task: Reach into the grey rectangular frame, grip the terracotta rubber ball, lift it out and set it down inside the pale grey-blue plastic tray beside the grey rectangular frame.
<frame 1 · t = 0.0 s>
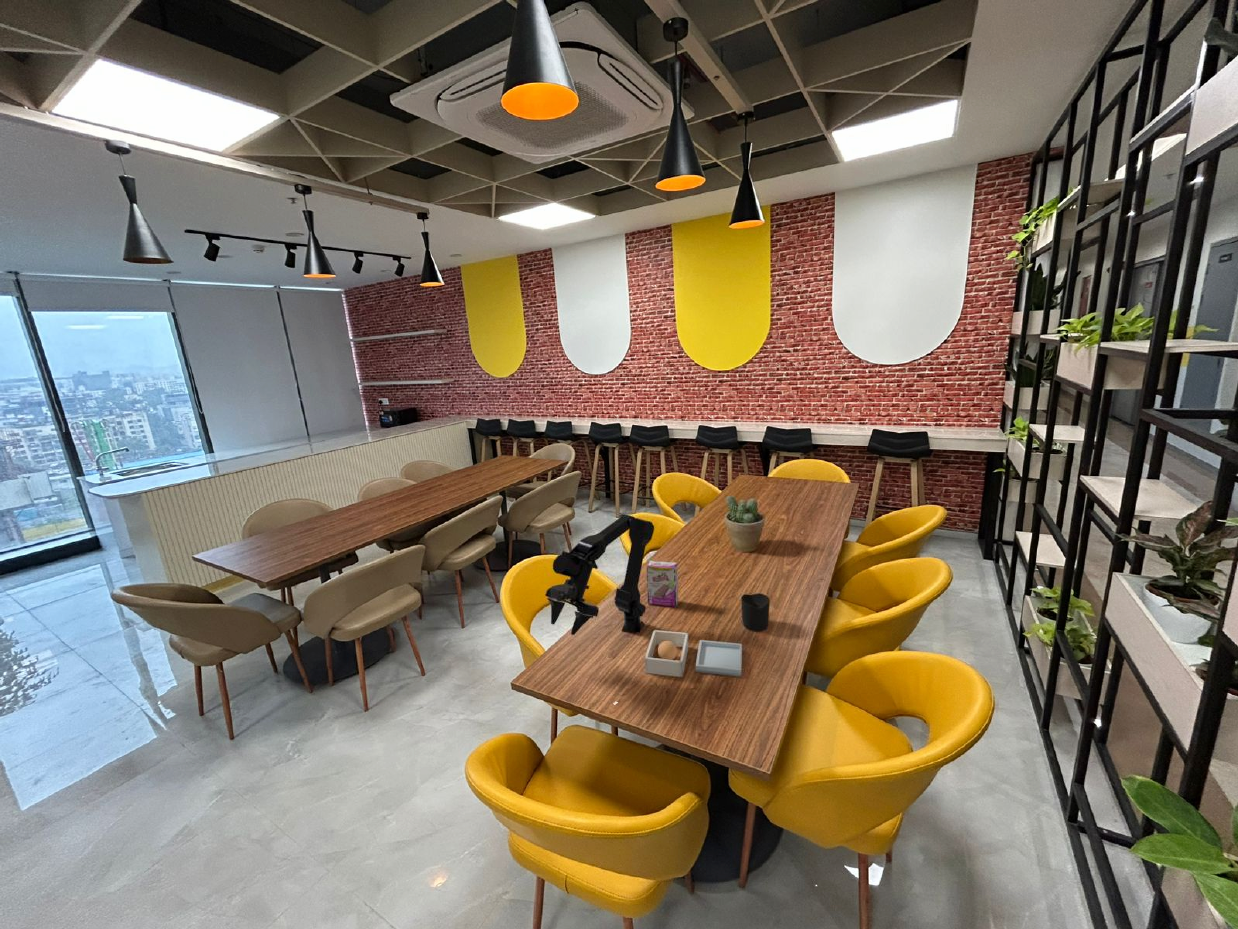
hand: (562, 629, 150), 15 cm above the table, tool tilted 35°, fingers open, 9 cm apart
potted plant: (744, 548, 236), on the table
candy bar box: (663, 603, 191), on the table
tray: (719, 660, 155), on the table
grey rectangular frame: (667, 659, 157), on the table
ball: (667, 651, 156), point 3 cm above the table
pen holder: (755, 625, 173), on the table
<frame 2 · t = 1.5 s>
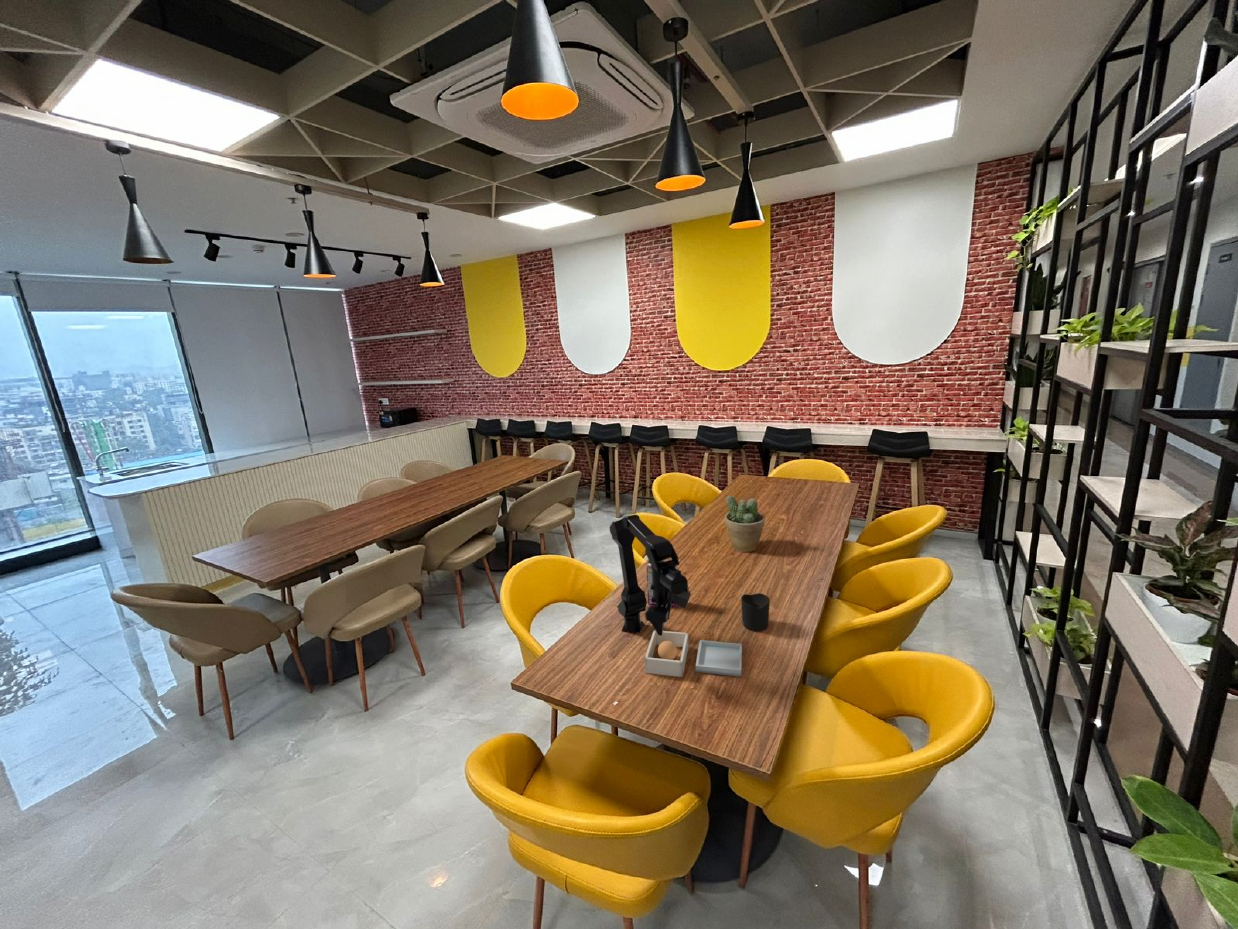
hand: (663, 627, 153), 12 cm above the table, tool pointing down, fingers open, 9 cm apart
nothing on the table moved.
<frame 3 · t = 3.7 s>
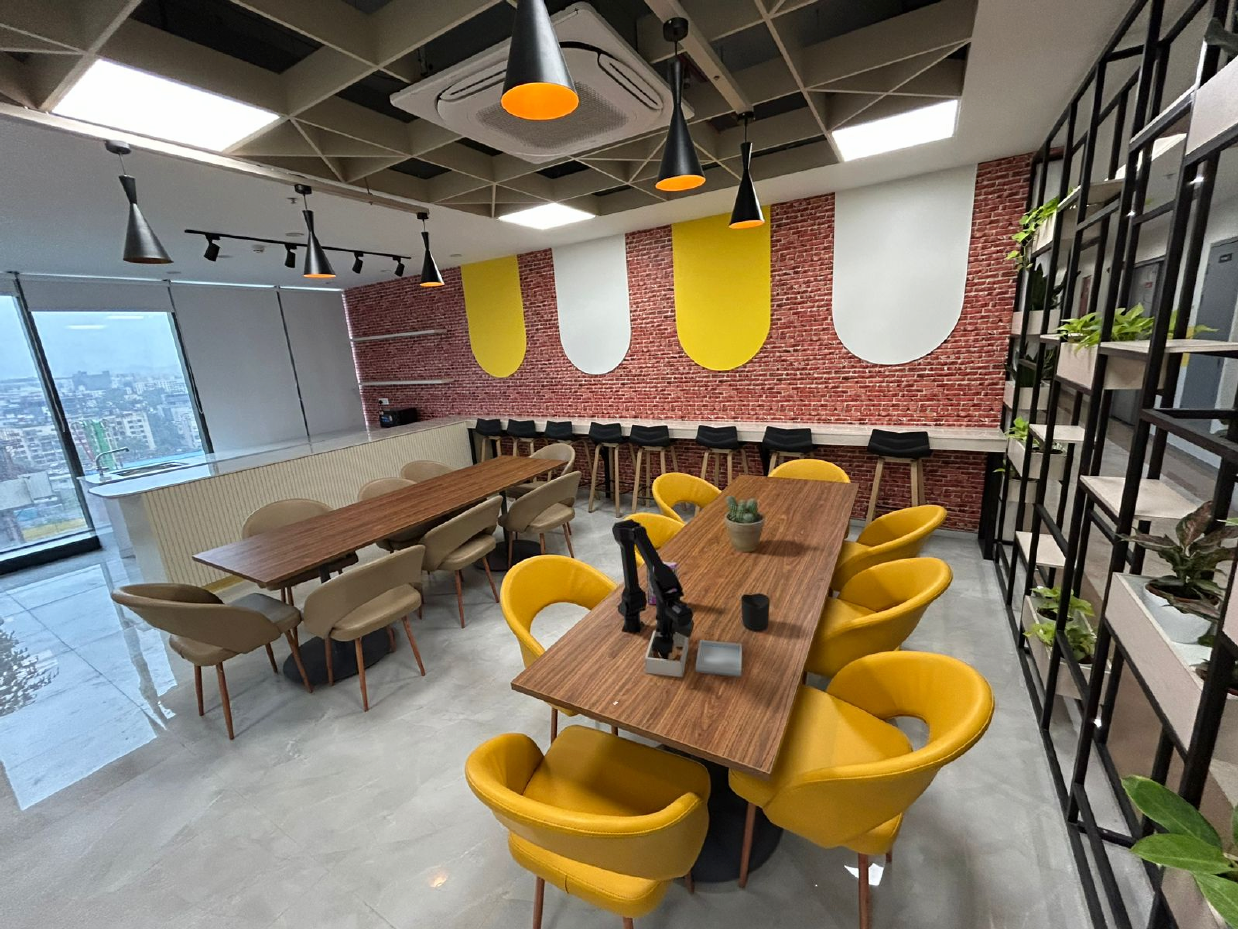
hand: (667, 655, 157), 2 cm above the table, tool pointing down, fingers closed on ball, 6 cm apart
ball: (667, 651, 156), point 3 cm above the table, touching gripper
everything else where it was.
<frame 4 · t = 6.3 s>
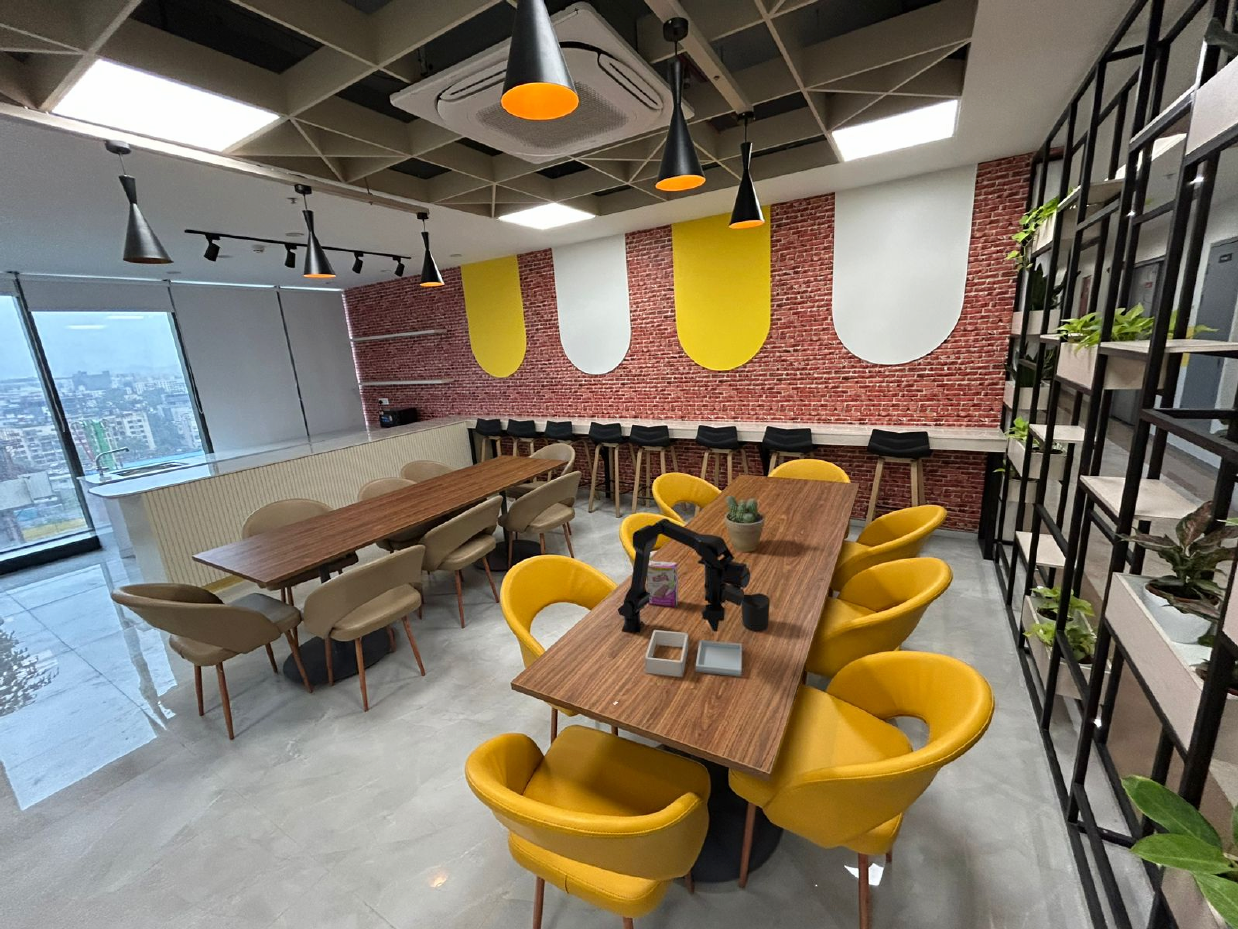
hand: (716, 625, 152), 12 cm above the table, tool pointing down, fingers closed on ball, 6 cm apart
ball: (715, 621, 151), point 14 cm above the table, touching gripper
everything else where it was.
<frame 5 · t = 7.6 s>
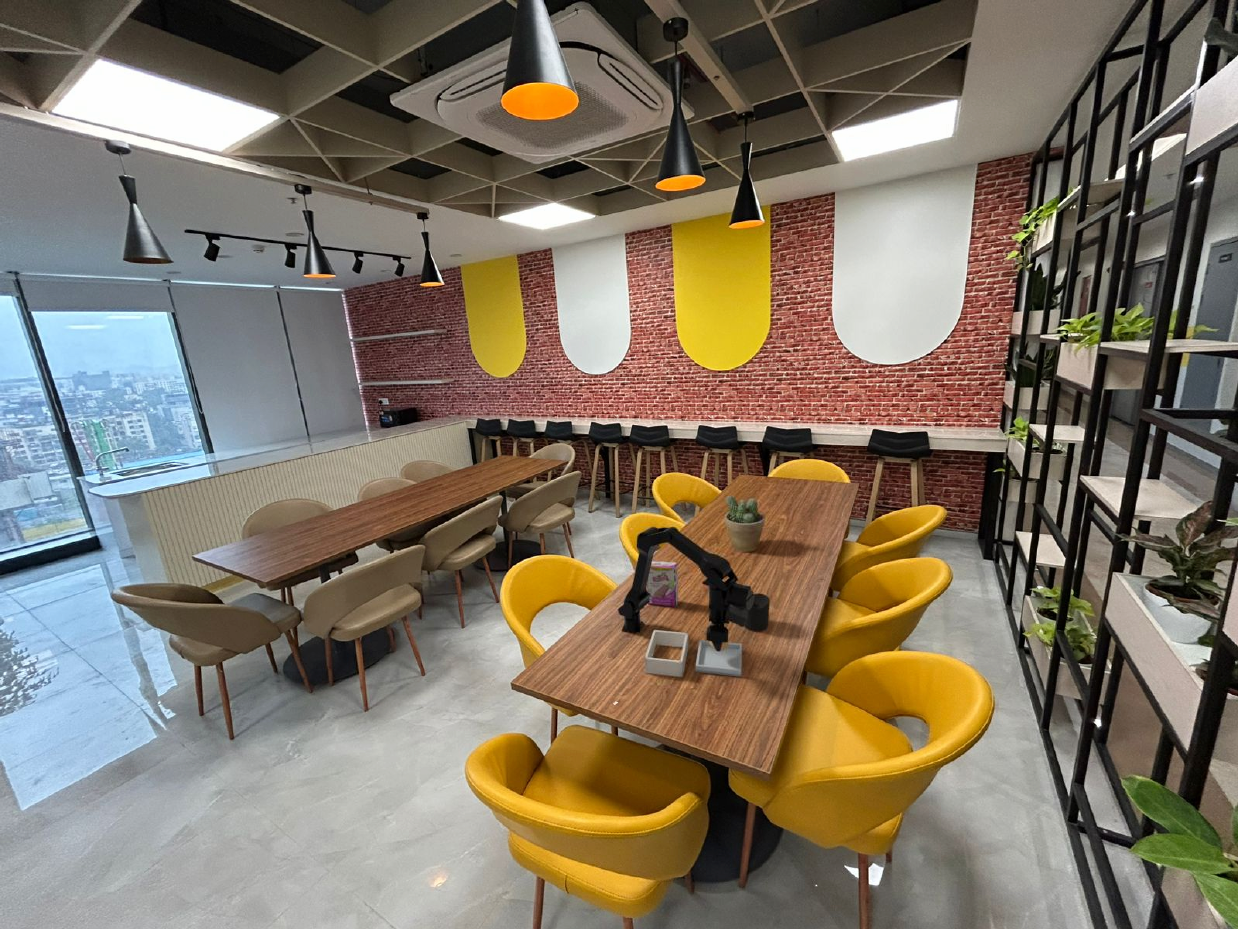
hand: (719, 645, 154), 5 cm above the table, tool pointing down, fingers closed on ball, 6 cm apart
ball: (719, 640, 153), point 7 cm above the table, touching gripper
everything else where it was.
when the fingers open (4 cm above the table, at t = 8.8 s): ball drops 2 cm, resting on tray.
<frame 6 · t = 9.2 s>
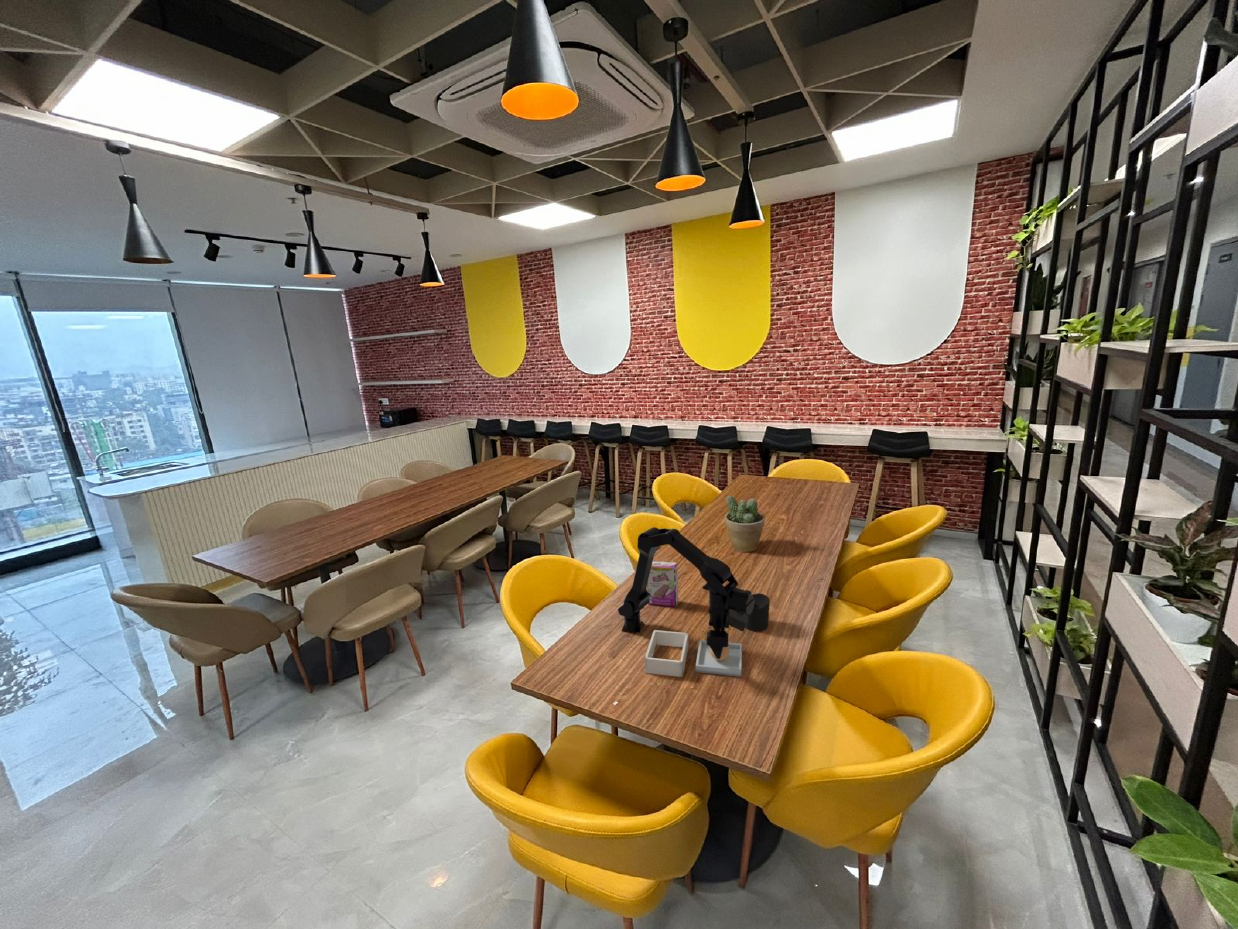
hand: (719, 649, 154), 4 cm above the table, tool pointing down, fingers open, 9 cm apart
ball: (719, 650, 154), point 4 cm above the table, touching tray
everything else where it was.
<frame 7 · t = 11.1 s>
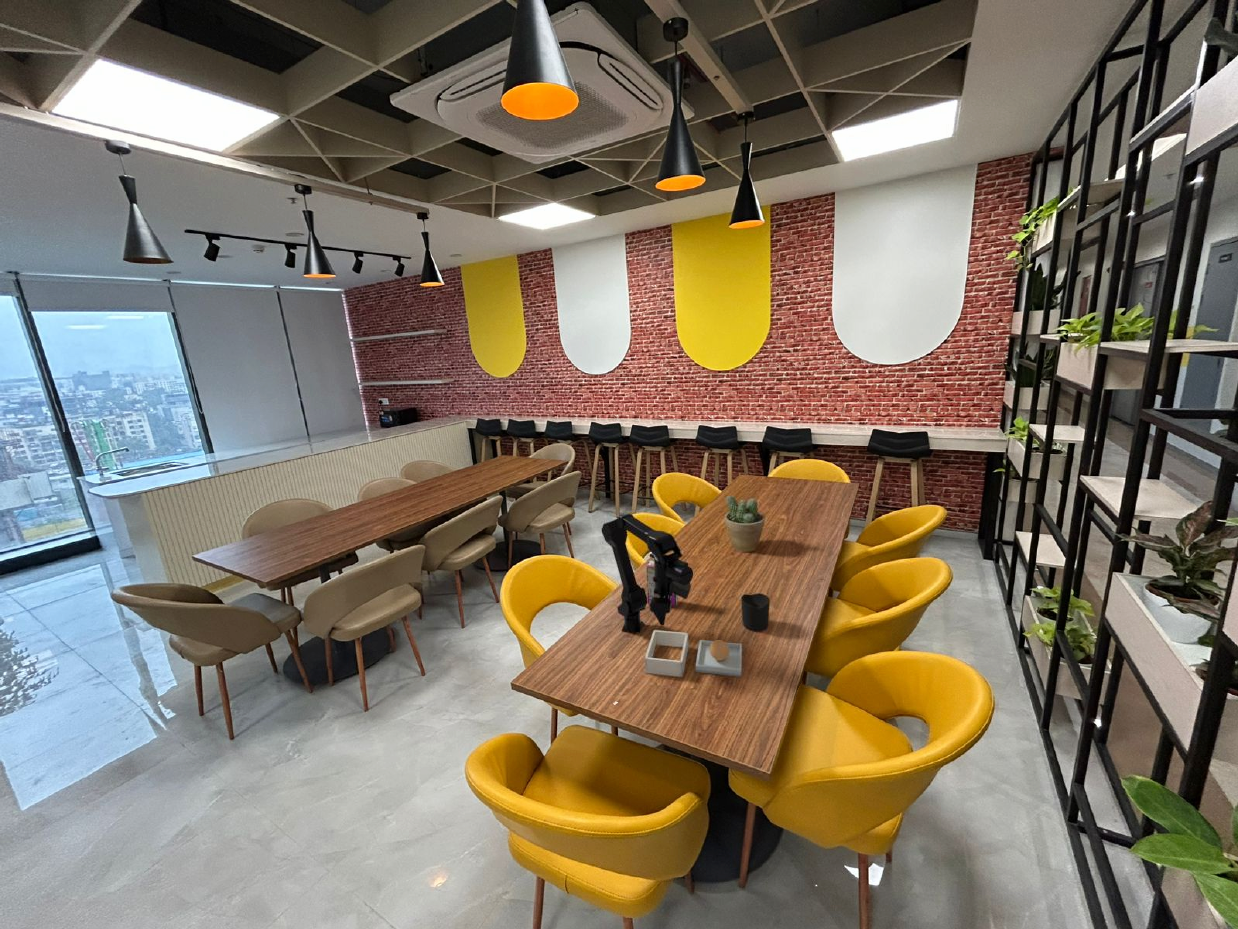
hand: (664, 616, 160), 12 cm above the table, tool pointing down, fingers open, 9 cm apart
nothing on the table moved.
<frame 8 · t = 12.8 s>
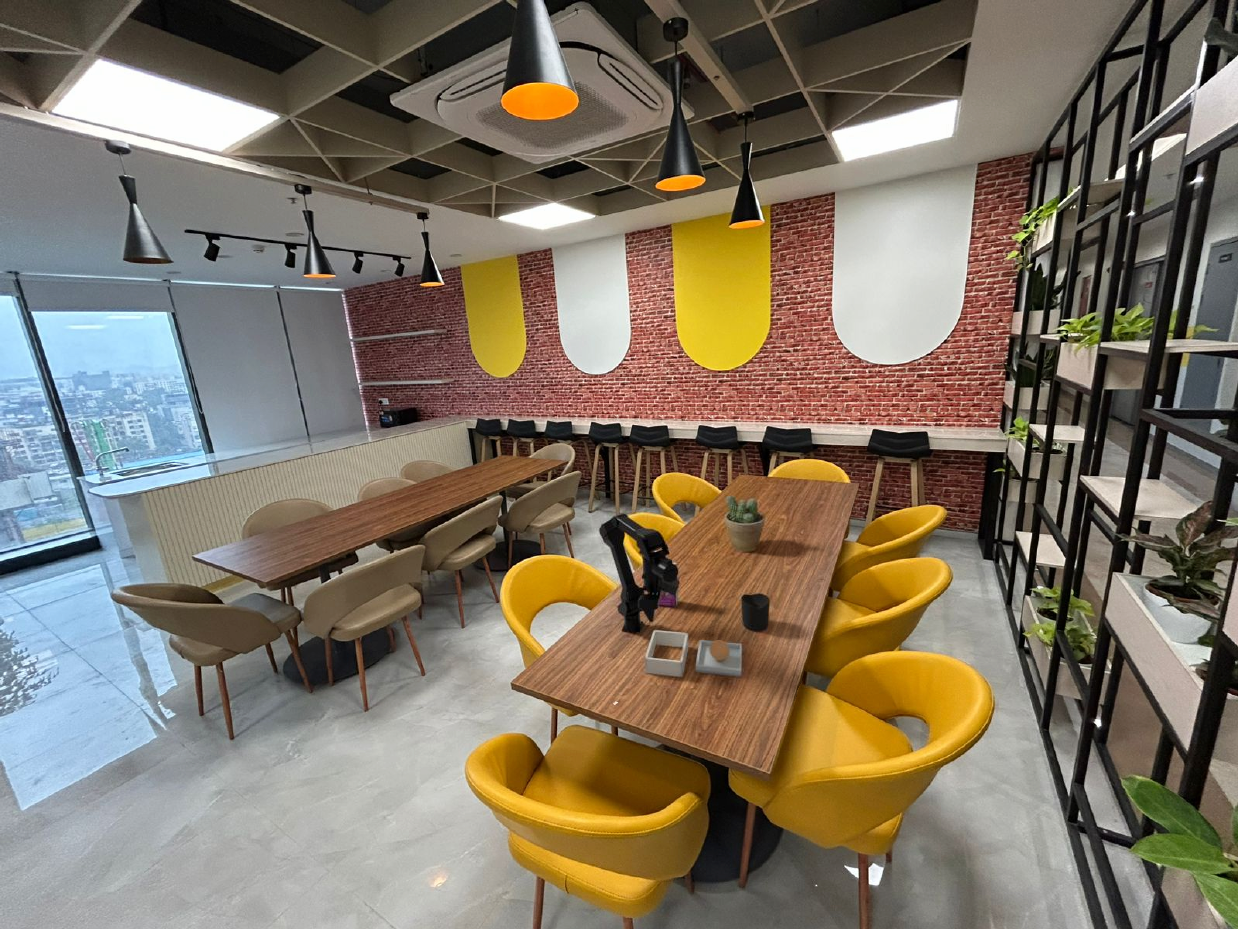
hand: (654, 614, 161), 12 cm above the table, tool pointing down, fingers open, 9 cm apart
nothing on the table moved.
at the end: ball inside the target area on the tray (0.1 cm from its centre), point 3.8 cm above the tray's base; the gripper is holding nothing; ball moved 16.1 cm from its start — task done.
